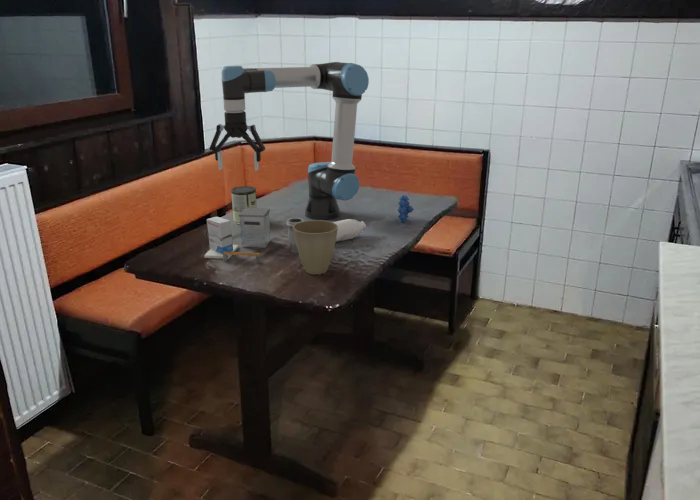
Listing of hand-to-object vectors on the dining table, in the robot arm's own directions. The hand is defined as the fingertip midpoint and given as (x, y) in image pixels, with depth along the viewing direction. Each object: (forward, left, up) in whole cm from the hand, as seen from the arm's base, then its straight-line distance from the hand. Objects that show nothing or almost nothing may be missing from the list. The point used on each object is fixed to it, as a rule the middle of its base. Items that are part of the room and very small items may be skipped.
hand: (238, 169), depth 227 cm
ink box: (+5, +11, -28) cm, 30 cm away
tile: (+5, +11, -29) cm, 31 cm away
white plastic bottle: (-37, -9, -29) cm, 48 cm away
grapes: (-61, -34, -29) cm, 75 cm away
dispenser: (-5, +8, -29) cm, 30 cm away
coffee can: (+7, -27, -29) cm, 40 cm away
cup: (-22, +6, -29) cm, 37 cm away
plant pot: (-33, +24, -29) cm, 50 cm away
